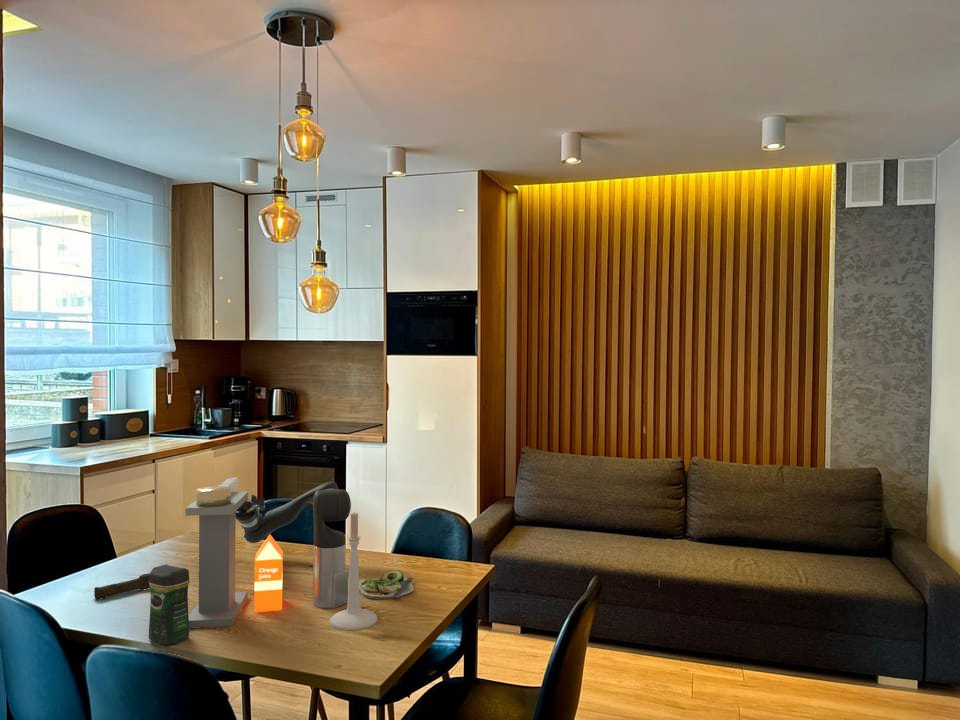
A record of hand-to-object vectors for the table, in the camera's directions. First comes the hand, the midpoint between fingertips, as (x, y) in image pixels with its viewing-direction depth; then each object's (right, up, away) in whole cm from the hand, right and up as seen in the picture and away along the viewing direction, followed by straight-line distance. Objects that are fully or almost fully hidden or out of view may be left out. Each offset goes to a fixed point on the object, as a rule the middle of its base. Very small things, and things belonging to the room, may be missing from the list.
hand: (238, 497), depth 221 cm
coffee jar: (-1, -27, -46) cm, 54 cm away
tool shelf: (+4, -27, -27) cm, 39 cm away
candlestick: (+43, -27, -33) cm, 61 cm away
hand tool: (-30, -27, -11) cm, 42 cm away
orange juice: (+17, -27, -22) cm, 39 cm away
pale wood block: (+3, +5, -23) cm, 24 cm away
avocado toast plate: (+49, -28, -7) cm, 57 cm away
